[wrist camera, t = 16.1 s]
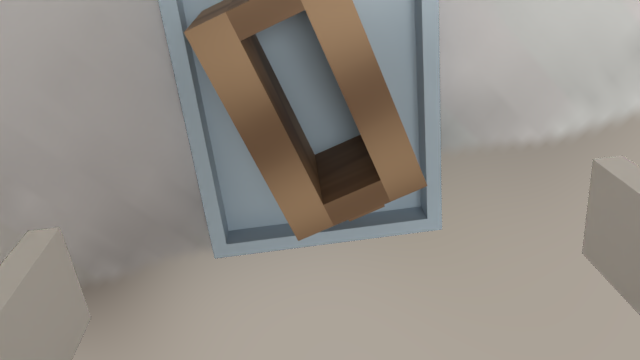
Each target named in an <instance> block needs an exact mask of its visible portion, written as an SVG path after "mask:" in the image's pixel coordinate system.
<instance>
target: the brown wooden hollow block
mask: <svg viewBox="0 0 640 360" xmlns="http://www.w3.org/2000/svg"><path fill="white" fill-rule="evenodd" d="M304 10H305V11H306V13H307V15H308V18H309V20H310V22H311V24H312V27H313V29H314V31H315V33H316V36H317V38H318V40H319V42H320V45H321V47H322V49H323V51H324V53H325V56H326V58H327V60H328V62H329V65H330V67H331V69H332V71H333V74H334V76H335V78H336V80H337V83H338V85H339V87H340V89H341V92H342V94H343V96H344V98H345V101H346V103H347V105H348V107H349V110H350V112H351V114H352V116H353V119H354V121H355V123H356V125H357V128H358V130H359V132H360V134H361V135H358V136H356V137H354V138H352V139H349V140H347V141H345V142H343V143H340V144H338V145H336V146H334V147H331V148H329V149H327V150H325V151H322V152H320V153H318V154H316V155H315V154H314V152H313V150H312V148H311V146H310V144H309V142H308V140H307V138H306V136H305V134H304V132H303V130H302V128H301V126H300V124H299V122H298V119H297V117H296V115H295V113H294V111H293V109H292V107H291V105H290V103H289V101H288V99H287V97H286V95H285V93H284V91H283V89H282V87H281V85H280V83H279V81H278V79H277V77H276V75H275V73H274V71H273V69H272V67H271V65H270V63H269V61H268V59H267V57H266V55H265V52H264V50H263V48H262V46H261V44H260V42H259V40H258V38H257V36H256V33H258V32H260V31H262V30H264V29H267V28H269V27H271V26H273V25H275V24H277V23H279V22H281V21H283V20H285V19H287V18H290V17H292V16H294V15H296V14H298V13H300V12H302V11H304ZM184 34H185V36H186V38H187V39H188V41H189V43H190V45H191V47H192V48H193V50H194V52H195V54H196V56H197V58H198V59H199V61H200V63H201V65H202V67H203V69H204V70H205V72H206V74H207V76H208V78H209V79H210V81H211V83H212V85H213V87H214V89H215V90H216V92H217V94H218V96H219V98H220V100H221V101H222V103H223V105H224V107H225V109H226V110H227V112H228V114H229V116H230V118H231V120H232V121H233V123H234V125H235V127H236V129H237V131H238V132H239V134H240V136H241V138H242V140H243V141H244V143H245V145H246V147H247V149H248V151H249V152H250V154H251V156H252V158H253V160H254V161H255V163H256V165H257V167H258V169H259V171H260V172H261V174H262V176H263V178H264V180H265V182H266V183H267V185H268V187H269V189H270V191H271V192H272V194H273V196H274V198H275V200H276V202H277V203H278V205H279V207H280V209H281V211H282V213H283V214H284V216H285V218H286V220H287V222H288V223H289V225H290V227H291V229H292V231H293V233H294V234H295V236H296V238H297V240H298V241H300V240H302V239H304V238H307V237H309V236H312V235H314V234H316V233H319V232H321V231H323V230H326V229H328V228H330V227H333V226H335V225H337V224H340V223H342V222H344V221H347V220H349V222H350V221H352V220H355V219H357V218H359V217H362V216H364V215H366V214H369V213H371V212H373V211H376V210H378V209H380V208H383V207H385V205H384V204H387V203H389V202H391V201H394V200H396V199H398V198H401V197H403V196H405V195H408V194H410V193H412V192H415V191H417V190H419V189H422V188H424V187H426V186H427V183H426V181H425V178H424V176H423V173H422V171H421V168H420V166H419V164H418V161H417V159H416V156H415V154H414V151H413V149H412V146H411V144H410V141H409V139H408V136H407V134H406V131H405V129H404V126H403V124H402V122H401V119H400V117H399V114H398V112H397V109H396V107H395V104H394V102H393V99H392V97H391V94H390V92H389V89H388V87H387V84H386V82H385V80H384V77H383V75H382V72H381V70H380V67H379V65H378V62H377V60H376V57H375V55H374V52H373V50H372V47H371V45H370V43H369V40H368V38H367V35H366V33H365V30H364V28H363V25H362V23H361V20H360V18H359V15H358V13H357V10H356V8H355V5H354V3H353V1H352V0H223V1H221V2H219V3H217V4H215V5H213V6H211V7H209V8H207V9H205V10H203V11H202V12H201V13H200V14H199V15H198V16H197V18H196V19H195V20H194V21H193V22H192V23H191V25H190V26H189V27H188V28H187V29H186V30H185V31H184Z"/></svg>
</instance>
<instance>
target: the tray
mask: <svg viewBox="0 0 640 360" xmlns="http://www.w3.org/2000/svg"><path fill="white" fill-rule="evenodd" d="M221 1H223V0H158V3H159V7H160V12H161V16H162V21H163V25H164V30H165V34H166V39H167V44H168V48H169V53H170V57H171V62H172V66H173V71H174V75H175V80H176V85H177V89H178V94H179V98H180V103H181V107H182V112H183V116H184V121H185V126H186V130H187V135H188V139H189V144H190V148H191V153H192V157H193V162H194V167H195V171H196V176H197V180H198V185H199V189H200V194H201V198H202V203H203V208H204V212H205V217H206V221H207V226H208V230H209V235H210V239H211V244H212V249H213V253H214V258H223V257H230V256H238V255H246V254H254V253H262V252H270V251H277V250H285V249H293V248H300V247H308V246H316V245H324V244H332V243H340V242H347V241H355V240H363V239H370V238H379V237H387V236H394V235H402V234H410V233H418V232H425V231H433V230H441V229H442V200H441V199H442V198H441V127H440V57H439V0H352V1H353V3H354V5H355V8H356V10H357V13H358V15H359V18H360V20H361V23H362V25H363V28H364V30H365V33H366V35H367V38H368V40H369V43H370V45H371V47H372V50H373V52H374V55H375V57H376V60H377V62H378V65H379V67H380V70H381V72H382V75H383V77H384V80H385V82H386V84H387V87H388V89H389V92H390V94H391V97H392V99H393V102H394V104H395V107H396V109H397V112H398V114H399V117H400V119H401V122H402V124H403V126H404V129H405V131H406V134H407V136H408V139H409V141H410V144H411V146H412V149H413V151H414V154H415V156H416V159H417V161H418V164H419V166H420V168H421V171H422V173H423V176H424V178H425V181H426V183H427V186H426V187H424V188H422V189H419V190H417V191H415V192H412V193H410V194H408V195H405V196H403V197H401V198H398V199H396V200H394V201H391V202H389V203H387V204H384V205H385V207H383V208H380V209H378V210H376V211H373V212H371V213H369V214H366V215H364V216H362V217H359V218H357V219H355V220H352V221H350V222H349V220H347V221H344V222H342V223H340V224H337V225H335V226H333V227H330V228H328V229H326V230H323V231H321V232H319V233H316V234H314V235H312V236H309V237H307V238H304V239H302V240H300V241H298V240H297V238H296V236H295V234H294V233H293V231H292V229H291V227H290V225H289V223H288V222H287V220H286V218H285V216H284V214H283V213H282V211H281V209H280V207H279V205H278V203H277V202H276V200H275V198H274V196H273V194H272V192H271V191H270V189H269V187H268V185H267V183H266V182H265V180H264V178H263V176H262V174H261V172H260V171H259V169H258V167H257V165H256V163H255V161H254V160H253V158H252V156H251V154H250V152H249V151H248V149H247V147H246V145H245V143H244V141H243V140H242V138H241V136H240V134H239V132H238V131H237V129H236V127H235V125H234V123H233V121H232V120H231V118H230V116H229V114H228V112H227V110H226V109H225V107H224V105H223V103H222V101H221V100H220V98H219V96H218V94H217V92H216V90H215V89H214V87H213V85H212V83H211V81H210V79H209V78H208V76H207V74H206V72H205V70H204V69H203V67H202V65H201V63H200V61H199V59H198V58H197V56H196V54H195V52H194V50H193V48H192V47H191V45H190V43H189V41H188V39H187V38H186V36H185V34H184V31H185V30H186V29H187V28H188V27H189V26H190V25H191V23H192V22H193V21H194V20H195V19H196V18H197V16H198V15H199V14H200V13H201V12H202V11H203V10H205V9H207V8H209V7H211V6H213V5H215V4H217V3H219V2H221ZM256 36H257V38H258V40H259V42H260V44H261V46H262V48H263V50H264V52H265V55H266V57H267V59H268V61H269V63H270V65H271V67H272V69H273V71H274V73H275V75H276V77H277V79H278V81H279V83H280V85H281V87H282V89H283V91H284V93H285V95H286V97H287V99H288V101H289V103H290V105H291V107H292V109H293V111H294V113H295V115H296V117H297V119H298V122H299V124H300V126H301V128H302V130H303V132H304V134H305V136H306V138H307V140H308V142H309V144H310V146H311V148H312V150H313V152H314V154H315V155H316V154H318V153H320V152H322V151H325V150H327V149H329V148H331V147H334V146H336V145H338V144H340V143H343V142H345V141H347V140H349V139H352V138H354V137H356V136H358V135H361V134H360V132H359V130H358V128H357V125H356V123H355V121H354V119H353V116H352V114H351V112H350V110H349V107H348V105H347V103H346V101H345V98H344V96H343V94H342V92H341V89H340V87H339V85H338V83H337V80H336V78H335V76H334V74H333V71H332V69H331V67H330V65H329V62H328V60H327V58H326V56H325V53H324V51H323V49H322V47H321V45H320V42H319V40H318V38H317V36H316V33H315V31H314V29H313V27H312V24H311V22H310V20H309V18H308V15H307V13H306V11H305V10H304V11H302V12H300V13H298V14H296V15H294V16H292V17H290V18H287V19H285V20H283V21H281V22H279V23H277V24H275V25H273V26H271V27H269V28H267V29H264V30H262V31H260V32H258V33H256Z"/></svg>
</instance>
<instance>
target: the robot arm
mask: <svg viewBox="0 0 640 360" xmlns="http://www.w3.org/2000/svg"><path fill="white" fill-rule="evenodd" d="M582 254H583V255H584V256H585V257H586V258H587V259H588V260H589V261H590V262H591V264H592V265H593V266H594V267H595V268H596V269H597V270H598V271H599V272H600V273H601V274H602V275H603V276H604V277H605V279H606V280H607V281H608V282H609V283H610V284H611V285H612V286H613V287H614V288H615V289H616V290H617V291H618V292H619V293H620V294H621V296H622V297H623V298H624V299H625V300H626V301H627V302H628V303H629V304H630V305H631V306H632V307H633V309H634V310H635V311H636V312H637V313H638V314H639V315H640V166H638V165H637V164H635V163H634V162H632V161H631V160H629V159H628V158H626V157H625V156H615V157H607V158H599V159H593V162H592V171H591V179H590V189H589V197H588V206H587V214H586V223H585V232H584V240H583V249H582ZM90 320H91V315H90V312H89V309H88V307H87V304H86V301H85V298H84V295H83V292H82V289H81V286H80V284H79V281H78V278H77V275H76V272H75V269H74V266H73V264H72V261H71V258H70V255H69V252H68V249H67V246H66V244H65V241H64V238H63V235H62V232H61V229H60V227H55V228H48V229H40V230H32V231H27V233H26V234H25V235H24V236H23V238H22V239H21V240H20V241H19V243H18V244H17V245H16V246H15V248H14V249H13V250H12V251H11V253H10V254H9V255H8V256H7V258H6V259H5V260H4V261H3V263H2V264H1V265H0V360H72V359H73V357H74V355H75V352H76V350H77V348H78V346H79V344H80V341H81V339H82V337H83V335H84V333H85V331H86V328H87V326H88V324H89V322H90Z"/></svg>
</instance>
